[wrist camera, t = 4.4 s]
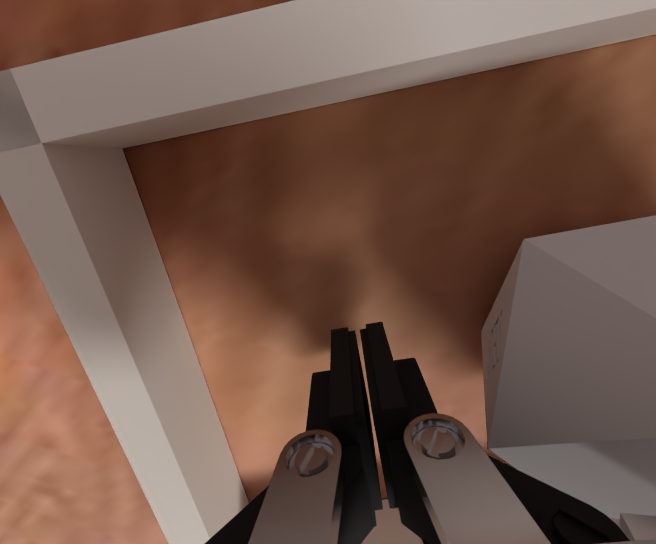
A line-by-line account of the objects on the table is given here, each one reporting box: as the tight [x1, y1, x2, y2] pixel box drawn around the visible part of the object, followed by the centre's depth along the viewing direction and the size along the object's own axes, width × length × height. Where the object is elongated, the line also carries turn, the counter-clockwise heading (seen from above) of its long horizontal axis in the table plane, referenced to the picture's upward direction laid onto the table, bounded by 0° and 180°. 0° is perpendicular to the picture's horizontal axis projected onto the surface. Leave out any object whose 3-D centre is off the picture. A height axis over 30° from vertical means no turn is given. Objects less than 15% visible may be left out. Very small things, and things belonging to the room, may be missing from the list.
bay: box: [0, 0, 656, 544], centre depth 11 cm, size 20×19×3 cm
